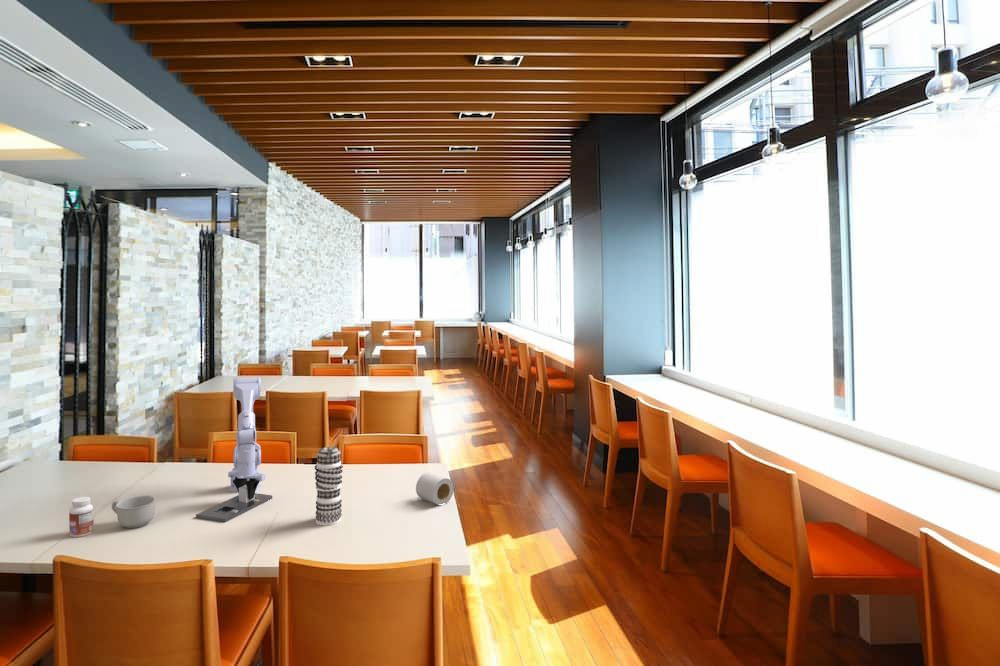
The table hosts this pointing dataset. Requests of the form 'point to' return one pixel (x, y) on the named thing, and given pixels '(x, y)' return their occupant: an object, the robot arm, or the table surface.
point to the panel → (232, 508)
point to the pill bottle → (81, 517)
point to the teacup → (135, 510)
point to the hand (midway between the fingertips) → (246, 498)
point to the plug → (244, 494)
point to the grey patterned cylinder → (328, 486)
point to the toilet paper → (434, 488)
